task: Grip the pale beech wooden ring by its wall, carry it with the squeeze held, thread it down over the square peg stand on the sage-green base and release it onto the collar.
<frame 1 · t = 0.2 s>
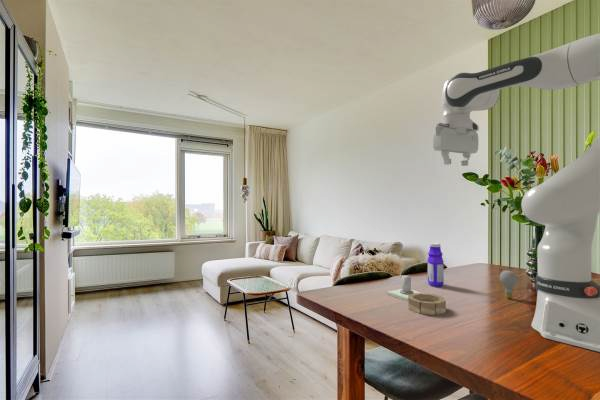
hand: (456, 165, 114), 47 cm above the table, fingers open, 8 cm apart
square peg stand: (406, 295, 121), on the table
light bulb: (508, 299, 116), on the table
ring: (426, 308, 106), on the table
bottle: (435, 285, 136), on the table
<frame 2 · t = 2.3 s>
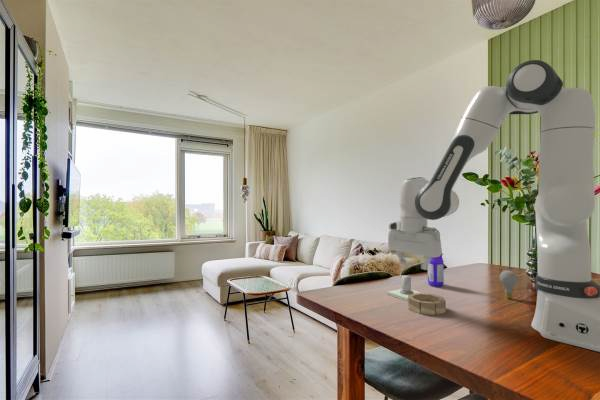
hand: (413, 266, 110), 13 cm above the table, fingers open, 8 cm apart
nothing on the table moved.
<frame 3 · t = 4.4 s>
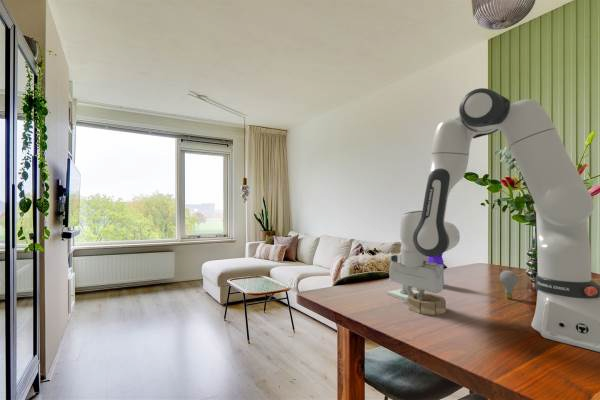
hand: (414, 300, 110), 2 cm above the table, fingers closed on ring
ring: (426, 308, 106), on the table, touching gripper
everything else where it was.
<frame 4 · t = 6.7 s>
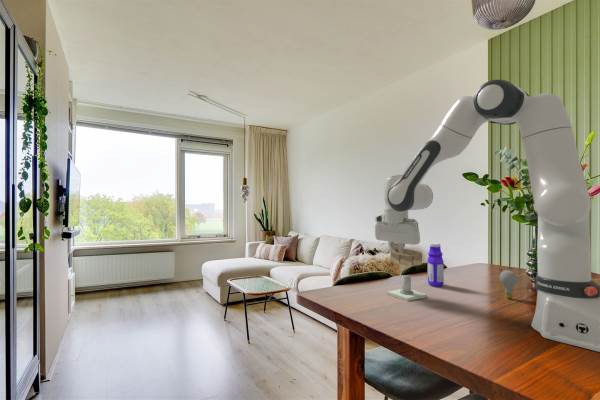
hand: (396, 254, 125), 15 cm above the table, fingers closed on ring
ring: (405, 261, 121), point 13 cm above the table, tilted 6°, touching gripper
everything else where it was.
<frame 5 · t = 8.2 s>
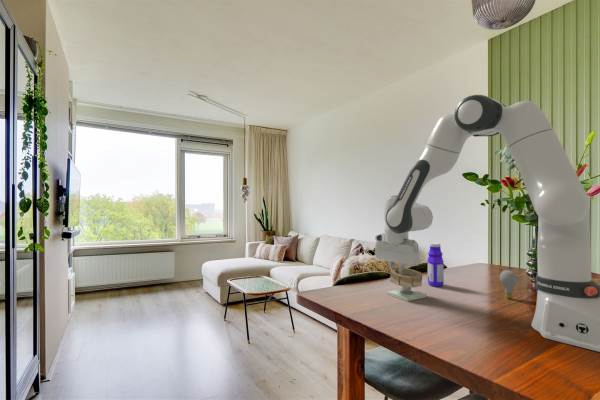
hand: (396, 273, 125), 7 cm above the table, fingers closed on ring
ring: (405, 281, 121), point 5 cm above the table, tilted 7°, touching gripper
everything else where it was.
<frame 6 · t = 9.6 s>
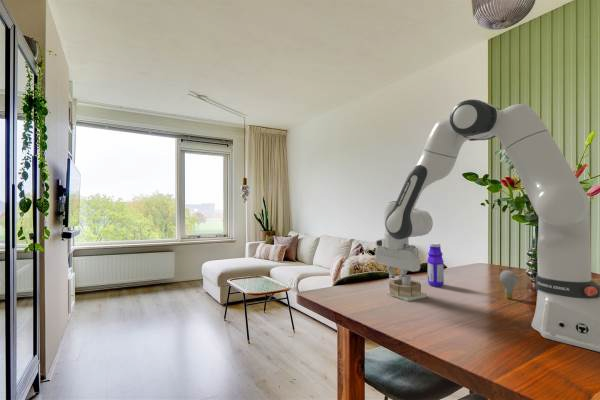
hand: (396, 279, 125), 5 cm above the table, fingers open, 4 cm apart
ring: (404, 292, 122), point 1 cm above the table, touching square peg stand
everything else where it was.
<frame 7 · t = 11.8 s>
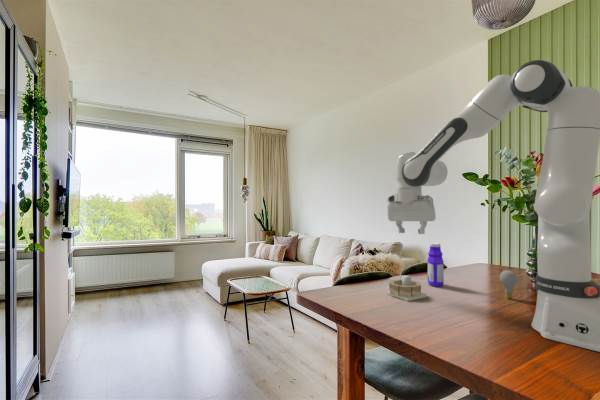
hand: (411, 233, 122), 23 cm above the table, fingers open, 8 cm apart
nothing on the table moved.
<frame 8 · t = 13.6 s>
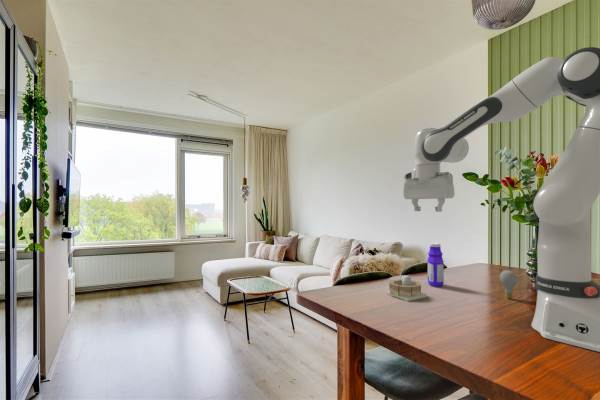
hand: (427, 211, 120), 31 cm above the table, fingers open, 8 cm apart
nothing on the table moved.
at the end: ring 0.8 cm off-centre on the square peg stand, point 1.0 cm above the square peg stand's base; the gripper is holding nothing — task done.
